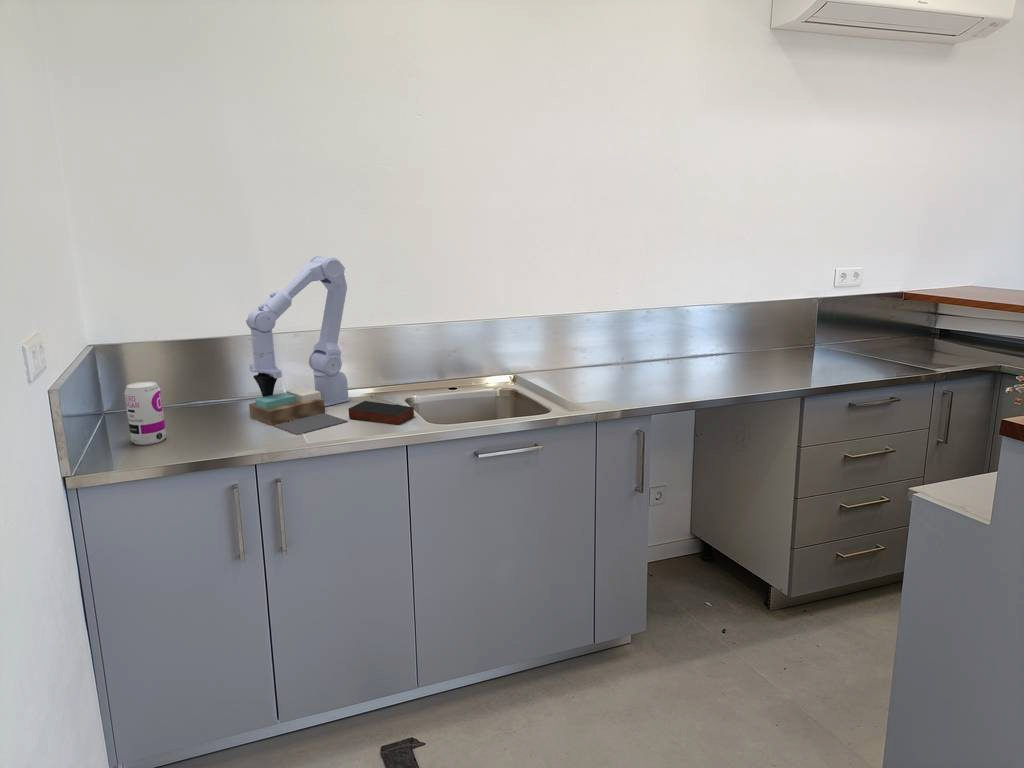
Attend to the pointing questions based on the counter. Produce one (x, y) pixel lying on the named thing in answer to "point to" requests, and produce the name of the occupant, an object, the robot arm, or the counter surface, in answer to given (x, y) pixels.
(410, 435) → the counter surface
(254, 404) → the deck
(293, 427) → the mat
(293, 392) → the cream flat block
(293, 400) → the turquoise block
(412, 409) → the kitchen sponge
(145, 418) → the supplement can
